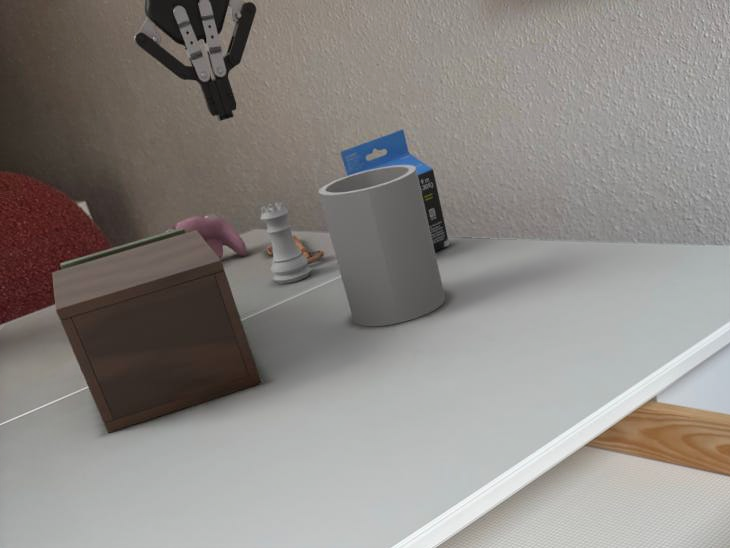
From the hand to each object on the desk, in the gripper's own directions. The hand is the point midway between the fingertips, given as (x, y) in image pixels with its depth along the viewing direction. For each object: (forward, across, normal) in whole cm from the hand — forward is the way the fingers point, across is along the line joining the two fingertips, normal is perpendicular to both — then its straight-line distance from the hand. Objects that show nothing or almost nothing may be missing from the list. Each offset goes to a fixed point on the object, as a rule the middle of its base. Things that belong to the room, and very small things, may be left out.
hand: (225, 118), depth 114 cm
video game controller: (+18, +6, -21) cm, 28 cm away
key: (+18, -4, -12) cm, 22 cm away
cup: (+18, -8, +22) cm, 30 cm away
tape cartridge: (+18, -14, +5) cm, 24 cm away
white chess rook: (+18, -2, -2) cm, 18 cm away
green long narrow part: (+16, +15, +12) cm, 25 cm away
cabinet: (+18, +14, +24) cm, 33 cm away
